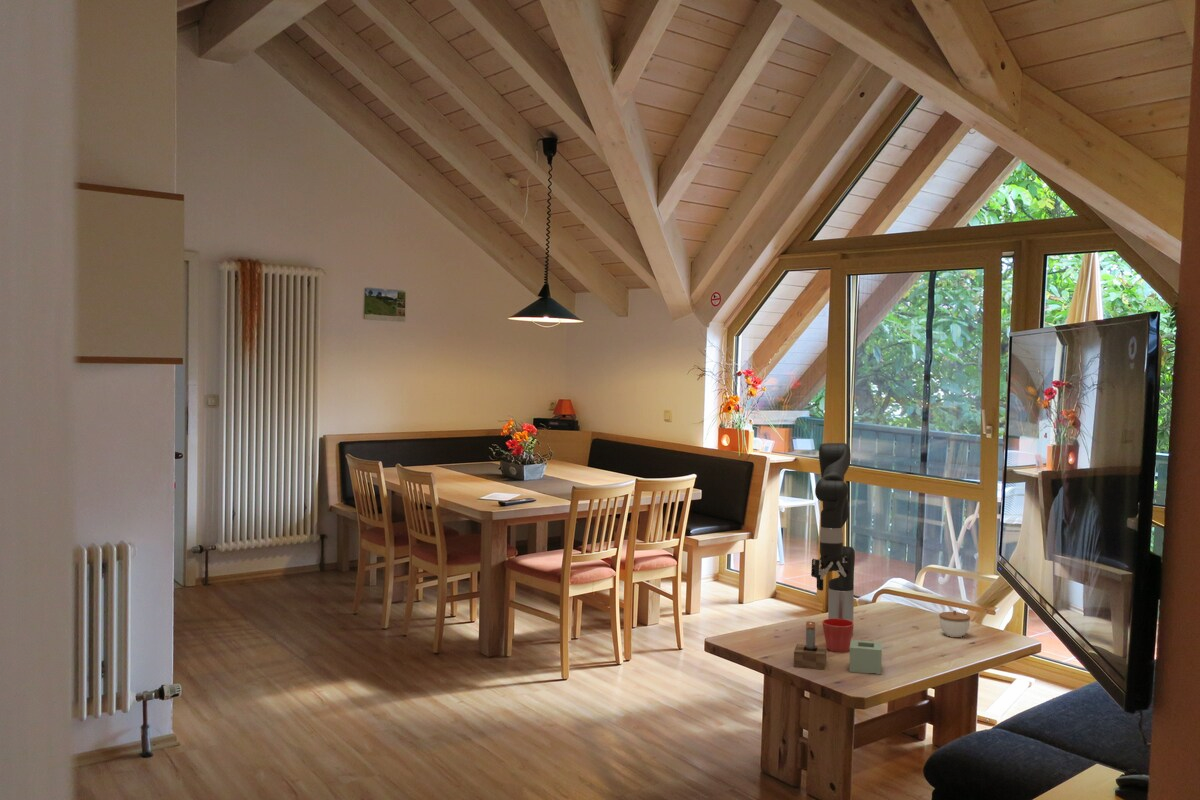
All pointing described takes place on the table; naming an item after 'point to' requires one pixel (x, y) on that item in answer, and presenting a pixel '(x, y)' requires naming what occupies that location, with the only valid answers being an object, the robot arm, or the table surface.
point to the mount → (810, 657)
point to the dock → (865, 656)
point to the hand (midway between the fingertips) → (830, 588)
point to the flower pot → (838, 634)
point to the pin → (810, 636)
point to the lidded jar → (954, 623)
